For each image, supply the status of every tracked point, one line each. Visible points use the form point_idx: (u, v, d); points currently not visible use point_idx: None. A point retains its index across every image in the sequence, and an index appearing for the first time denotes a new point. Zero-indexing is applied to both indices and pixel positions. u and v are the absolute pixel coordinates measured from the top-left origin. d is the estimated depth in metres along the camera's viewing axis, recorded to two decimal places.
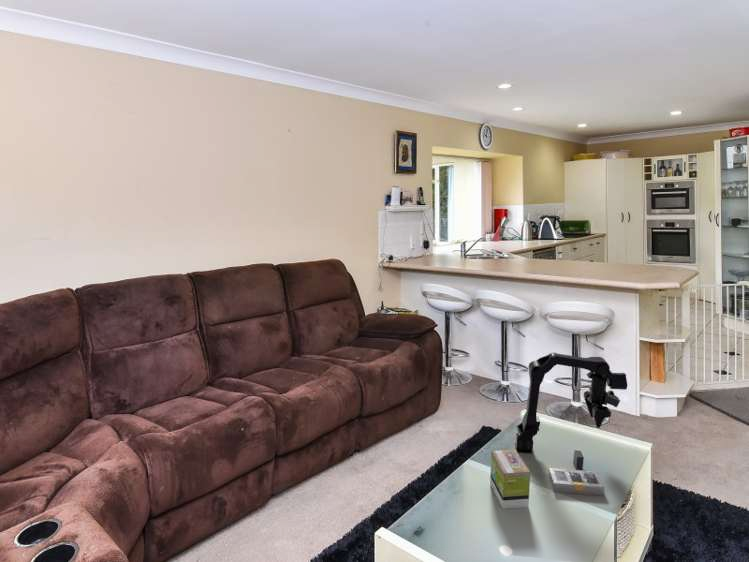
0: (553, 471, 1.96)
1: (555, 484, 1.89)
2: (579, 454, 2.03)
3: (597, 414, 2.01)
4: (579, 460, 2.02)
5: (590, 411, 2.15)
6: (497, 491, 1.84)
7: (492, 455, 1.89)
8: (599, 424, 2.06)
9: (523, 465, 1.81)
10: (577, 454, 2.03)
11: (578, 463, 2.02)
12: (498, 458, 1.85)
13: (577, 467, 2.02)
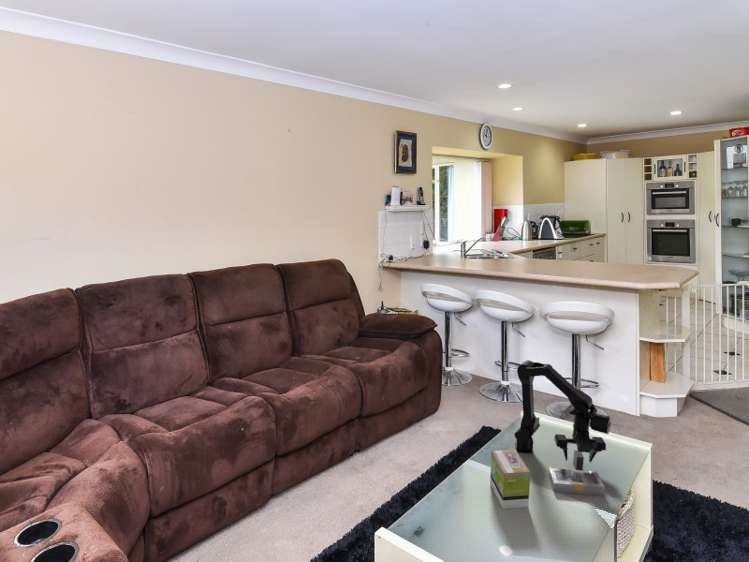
0: (553, 471, 1.96)
1: (555, 484, 1.89)
2: (579, 454, 2.03)
3: (554, 438, 2.06)
4: (579, 460, 2.02)
5: (589, 454, 2.04)
6: (497, 491, 1.84)
7: (492, 455, 1.89)
8: None
9: (523, 465, 1.81)
10: (577, 454, 2.03)
11: (578, 463, 2.02)
12: (498, 458, 1.85)
13: (577, 467, 2.02)
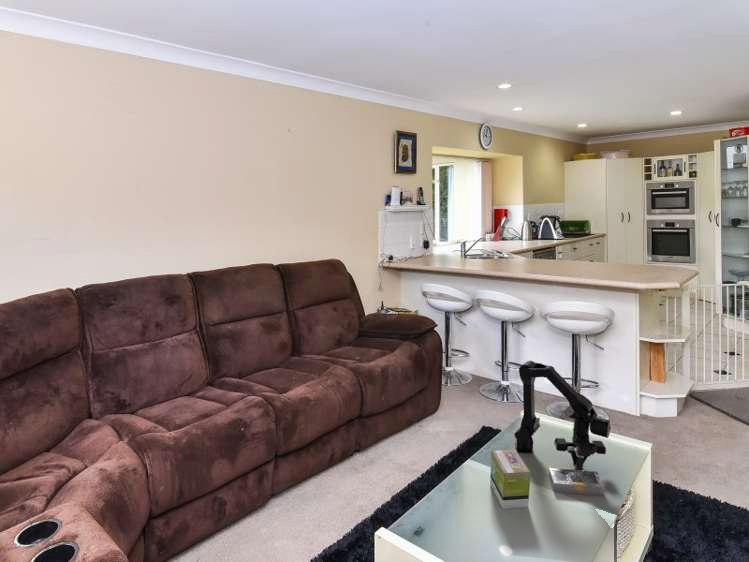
0: (553, 471, 1.96)
1: (555, 484, 1.89)
2: None
3: (554, 442, 2.06)
4: (579, 460, 2.02)
5: None
6: (497, 491, 1.84)
7: (492, 455, 1.89)
8: None
9: (523, 465, 1.81)
10: (577, 454, 2.03)
11: (578, 463, 2.02)
12: (498, 458, 1.85)
13: (577, 467, 2.02)
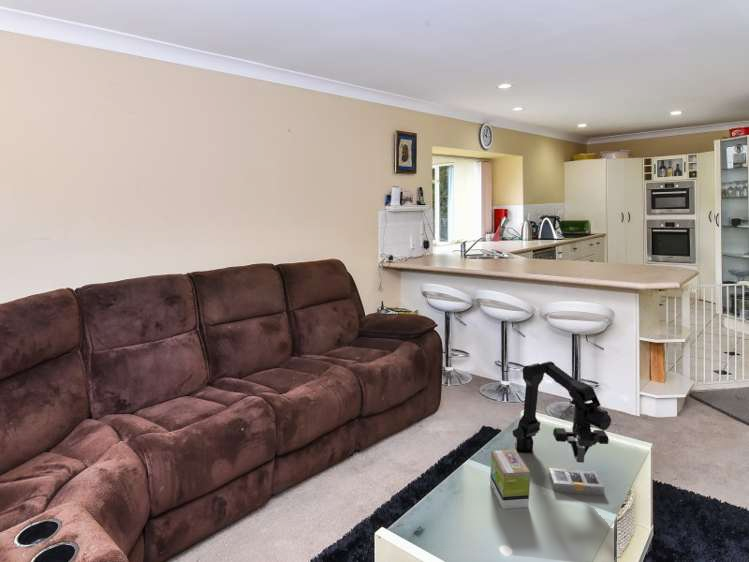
0: (553, 471, 1.96)
1: (555, 484, 1.89)
2: None
3: (553, 432, 1.93)
4: (580, 452, 1.88)
5: None
6: (497, 491, 1.84)
7: (492, 455, 1.89)
8: (573, 451, 1.91)
9: (523, 465, 1.81)
10: (578, 445, 1.90)
11: (579, 454, 1.88)
12: (498, 458, 1.85)
13: (578, 459, 1.89)
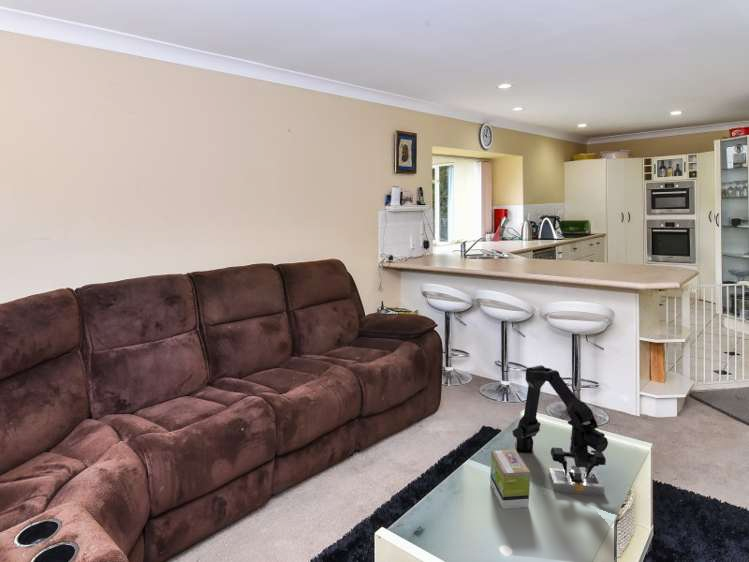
0: (553, 471, 1.96)
1: (555, 484, 1.89)
2: (577, 470, 1.91)
3: None
4: (576, 477, 1.89)
5: (586, 469, 1.92)
6: (497, 491, 1.84)
7: (492, 455, 1.89)
8: (564, 470, 1.92)
9: (523, 465, 1.81)
10: (575, 470, 1.91)
11: (576, 479, 1.90)
12: (498, 458, 1.85)
13: None
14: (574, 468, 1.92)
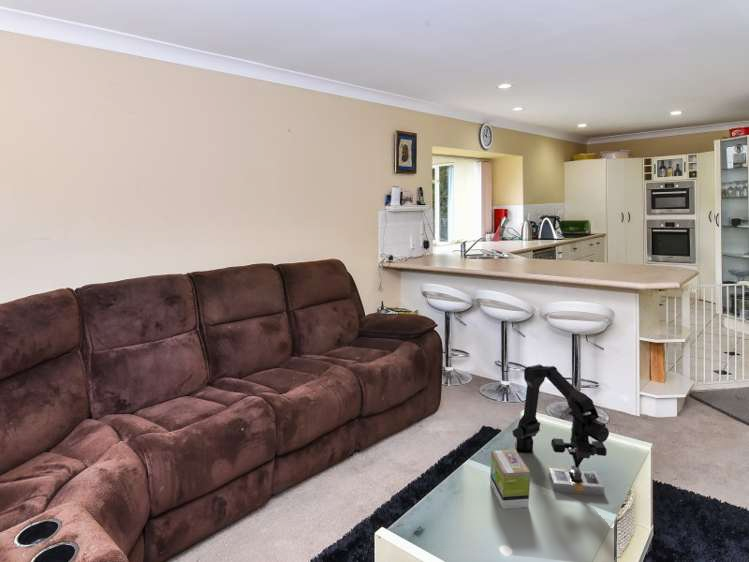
0: (553, 471, 1.96)
1: (555, 484, 1.89)
2: (577, 470, 1.91)
3: (551, 442, 1.93)
4: (576, 477, 1.89)
5: None
6: (497, 491, 1.84)
7: (492, 455, 1.89)
8: (574, 462, 1.91)
9: (523, 465, 1.81)
10: (575, 470, 1.91)
11: (576, 479, 1.90)
12: (498, 458, 1.85)
13: None
14: (574, 468, 1.92)
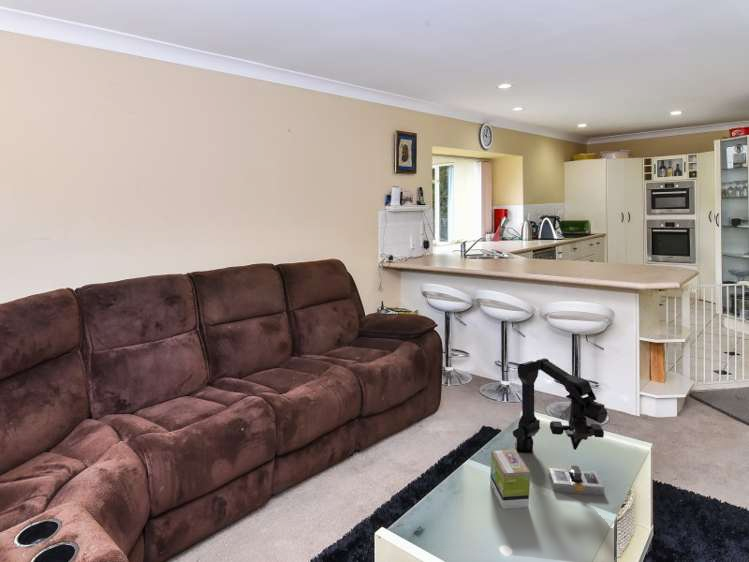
0: (553, 471, 1.96)
1: (555, 484, 1.89)
2: (577, 470, 1.91)
3: (550, 425, 1.97)
4: (576, 477, 1.89)
5: None
6: (497, 491, 1.84)
7: (492, 455, 1.89)
8: (572, 444, 1.95)
9: (523, 465, 1.81)
10: (575, 470, 1.91)
11: (576, 479, 1.90)
12: (498, 458, 1.85)
13: None
14: (574, 468, 1.92)
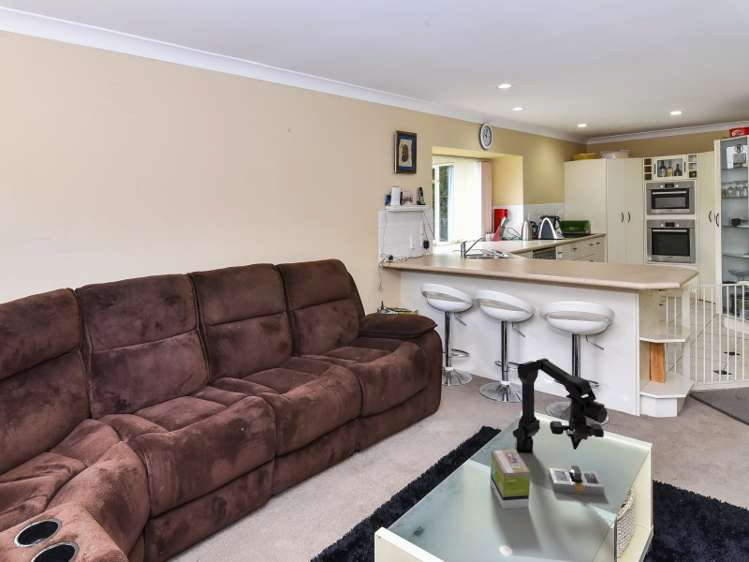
0: (553, 471, 1.96)
1: (555, 484, 1.89)
2: (577, 470, 1.91)
3: (550, 425, 1.97)
4: (576, 477, 1.89)
5: None
6: (497, 491, 1.84)
7: (492, 455, 1.89)
8: (572, 444, 1.95)
9: (523, 465, 1.81)
10: (575, 470, 1.91)
11: (576, 479, 1.90)
12: (498, 458, 1.85)
13: None
14: (574, 468, 1.92)
